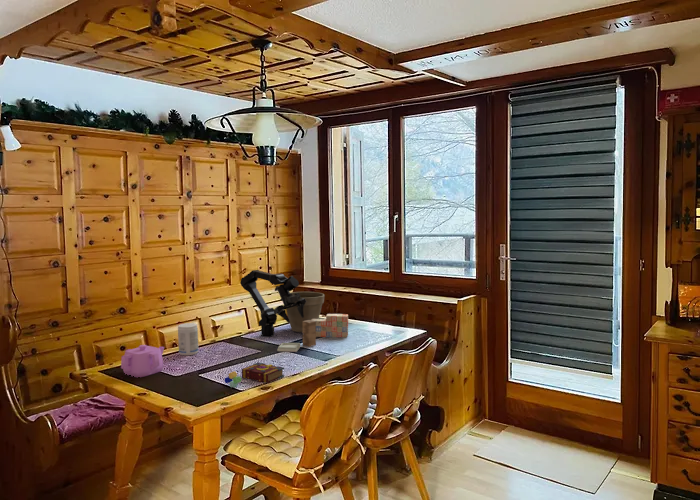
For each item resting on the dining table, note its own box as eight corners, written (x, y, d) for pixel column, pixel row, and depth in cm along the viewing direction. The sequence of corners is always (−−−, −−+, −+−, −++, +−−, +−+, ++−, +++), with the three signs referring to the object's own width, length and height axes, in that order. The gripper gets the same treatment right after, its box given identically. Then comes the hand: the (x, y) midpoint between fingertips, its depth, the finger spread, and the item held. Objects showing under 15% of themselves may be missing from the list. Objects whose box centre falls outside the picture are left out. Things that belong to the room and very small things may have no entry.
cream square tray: (277, 351, 279) (277, 347, 278) (282, 346, 289) (282, 342, 288) (296, 351, 278) (296, 347, 277) (300, 346, 287) (300, 343, 287)
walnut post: (302, 345, 291) (302, 321, 290) (309, 343, 294) (309, 319, 293) (309, 346, 287) (309, 322, 286) (315, 344, 291) (315, 321, 290)
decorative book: (267, 384, 228) (267, 373, 227) (239, 378, 236) (239, 367, 236) (284, 377, 237) (284, 366, 237) (256, 371, 246) (256, 360, 245)
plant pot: (307, 323, 344) (307, 289, 342) (332, 329, 326) (332, 294, 324) (275, 329, 327) (274, 294, 326) (299, 336, 309) (299, 299, 307)
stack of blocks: (310, 336, 310) (310, 315, 309) (311, 334, 316) (311, 313, 315) (347, 337, 308) (347, 316, 307) (348, 334, 314) (348, 313, 313)
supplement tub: (197, 350, 281) (197, 322, 280) (199, 354, 272) (198, 326, 271) (178, 351, 278) (177, 323, 276) (179, 356, 269) (178, 327, 267)
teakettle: (120, 379, 234) (119, 351, 233) (126, 368, 251) (125, 341, 250) (161, 376, 238) (160, 349, 237) (165, 365, 255) (164, 339, 254)
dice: (223, 385, 226) (223, 370, 225) (228, 383, 228) (228, 368, 228) (237, 389, 221) (237, 373, 221) (242, 387, 224) (242, 372, 223)
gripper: (276, 293, 290) (287, 320, 286) (304, 285, 301) (316, 310, 297) (268, 301, 298) (279, 326, 295) (297, 292, 309) (307, 317, 306)
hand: (296, 320), depth 298 cm, fingers open, 9 cm apart
